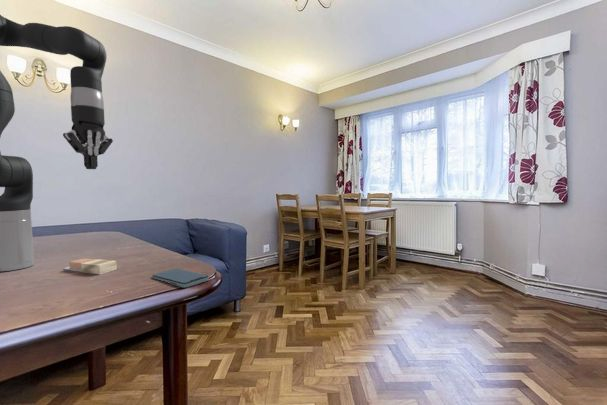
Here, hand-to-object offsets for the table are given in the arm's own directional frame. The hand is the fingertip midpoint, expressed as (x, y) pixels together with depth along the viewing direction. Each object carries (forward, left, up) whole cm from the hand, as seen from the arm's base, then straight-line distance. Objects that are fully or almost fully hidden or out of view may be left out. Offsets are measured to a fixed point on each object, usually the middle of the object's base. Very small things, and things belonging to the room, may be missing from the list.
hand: (91, 169), depth 84 cm
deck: (+2, -1, -29) cm, 29 cm away
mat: (-5, -1, -29) cm, 29 cm away
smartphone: (+30, 0, -30) cm, 42 cm away
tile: (-4, -1, -29) cm, 29 cm away
